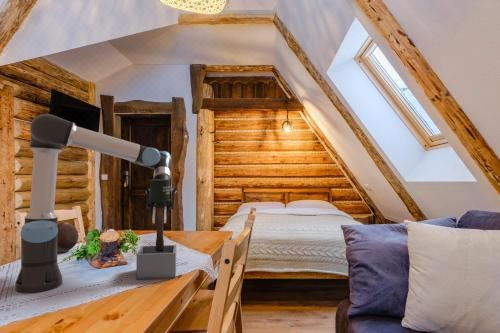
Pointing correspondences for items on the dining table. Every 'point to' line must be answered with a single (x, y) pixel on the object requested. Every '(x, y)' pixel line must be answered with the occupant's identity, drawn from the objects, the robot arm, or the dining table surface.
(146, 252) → the bin
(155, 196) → the stick grenade
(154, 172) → the robot arm
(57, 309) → the dining table surface
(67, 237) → the wooden sphere
